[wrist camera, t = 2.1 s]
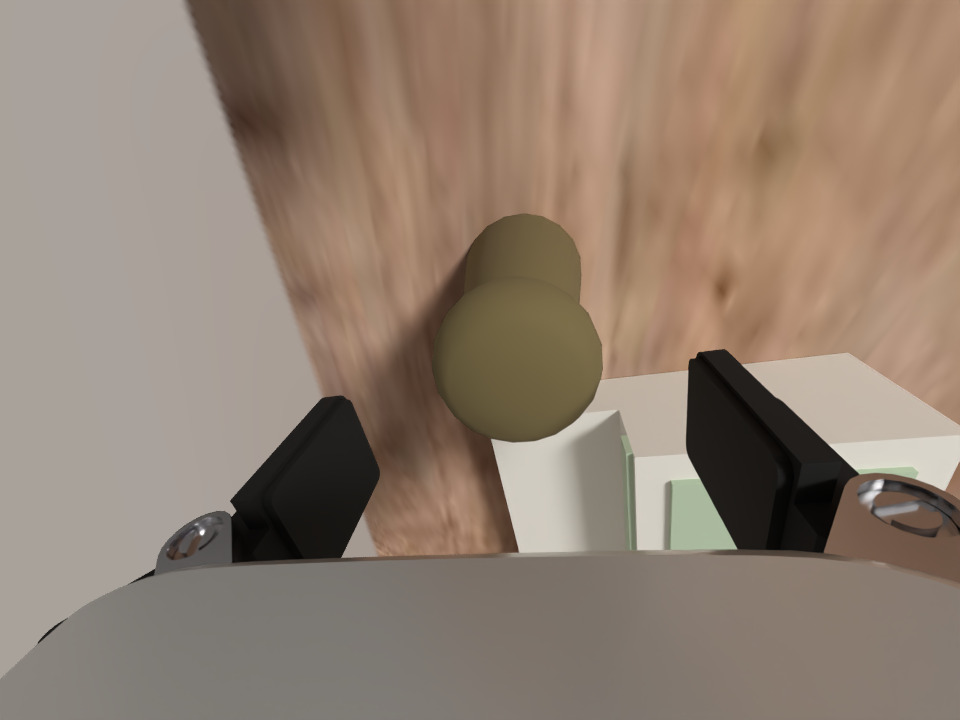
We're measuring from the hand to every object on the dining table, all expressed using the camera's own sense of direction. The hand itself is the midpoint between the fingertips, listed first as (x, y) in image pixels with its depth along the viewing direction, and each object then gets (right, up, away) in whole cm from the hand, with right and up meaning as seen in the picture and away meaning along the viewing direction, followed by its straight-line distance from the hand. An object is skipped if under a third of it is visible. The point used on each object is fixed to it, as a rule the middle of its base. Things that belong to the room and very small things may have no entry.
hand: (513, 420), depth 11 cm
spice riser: (+11, -5, +14) cm, 19 cm away
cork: (+1, +6, +10) cm, 11 cm away
